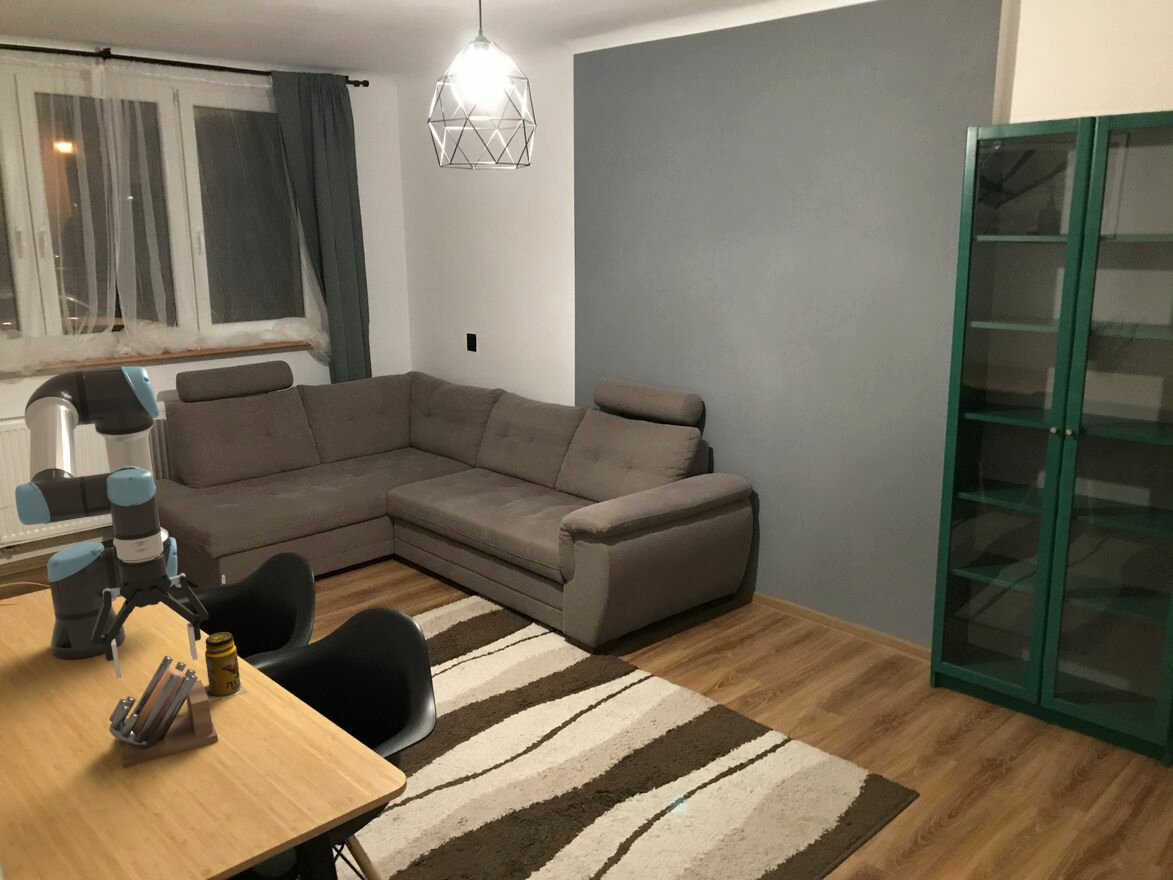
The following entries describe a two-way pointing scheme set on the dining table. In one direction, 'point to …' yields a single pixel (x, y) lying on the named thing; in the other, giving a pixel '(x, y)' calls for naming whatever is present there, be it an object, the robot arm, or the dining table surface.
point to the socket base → (178, 731)
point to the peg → (155, 695)
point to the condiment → (222, 667)
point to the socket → (124, 726)
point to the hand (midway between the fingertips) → (157, 666)
